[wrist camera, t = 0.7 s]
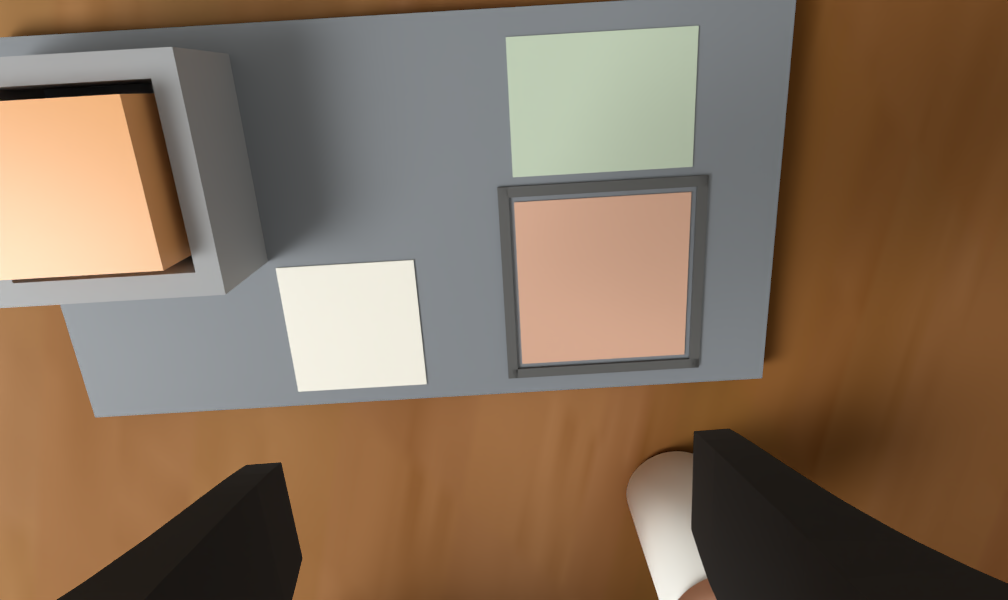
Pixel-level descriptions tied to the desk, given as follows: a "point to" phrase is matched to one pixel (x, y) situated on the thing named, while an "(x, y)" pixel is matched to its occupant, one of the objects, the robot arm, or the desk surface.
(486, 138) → the grey sorting board
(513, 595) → the desk surface
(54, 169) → the button
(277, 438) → the desk surface
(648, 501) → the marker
